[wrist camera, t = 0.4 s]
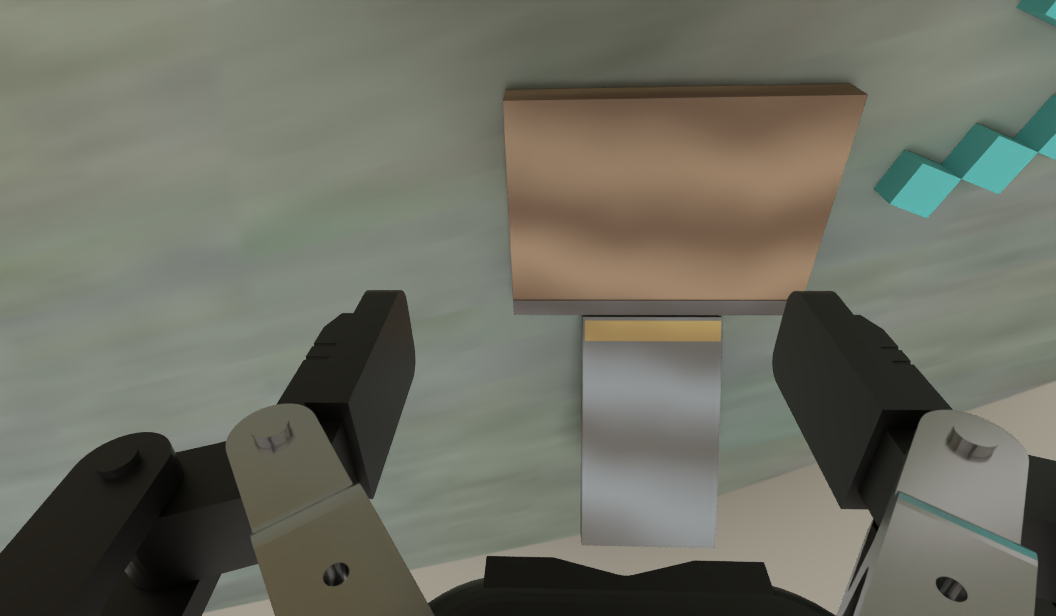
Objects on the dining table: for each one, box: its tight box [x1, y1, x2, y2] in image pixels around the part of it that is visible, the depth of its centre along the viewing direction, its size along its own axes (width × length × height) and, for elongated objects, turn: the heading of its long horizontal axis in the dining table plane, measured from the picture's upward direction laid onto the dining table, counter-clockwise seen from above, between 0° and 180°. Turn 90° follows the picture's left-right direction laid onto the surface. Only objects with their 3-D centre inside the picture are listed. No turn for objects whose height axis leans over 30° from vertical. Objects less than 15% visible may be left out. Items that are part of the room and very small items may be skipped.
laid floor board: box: [503, 84, 868, 315], centre depth 29 cm, size 12×16×2 cm
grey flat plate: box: [581, 315, 723, 548], centre depth 34 cm, size 14×8×2 cm, turn 2°
